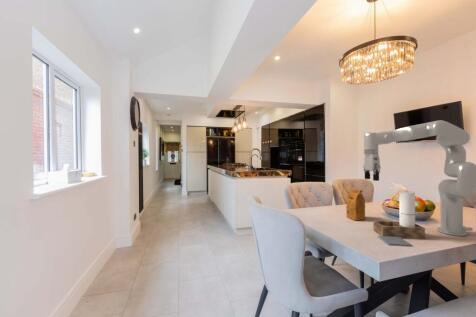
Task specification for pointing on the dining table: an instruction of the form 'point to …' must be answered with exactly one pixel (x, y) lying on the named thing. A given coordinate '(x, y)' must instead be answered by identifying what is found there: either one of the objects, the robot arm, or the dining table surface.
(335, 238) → the dining table surface
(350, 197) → the coffee package
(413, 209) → the cylindrical container
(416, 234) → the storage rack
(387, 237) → the slate coaster
